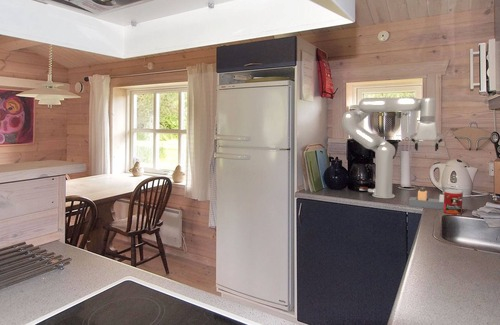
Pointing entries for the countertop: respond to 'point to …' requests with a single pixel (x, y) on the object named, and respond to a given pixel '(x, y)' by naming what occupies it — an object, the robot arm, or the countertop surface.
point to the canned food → (453, 201)
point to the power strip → (427, 202)
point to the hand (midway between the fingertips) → (426, 150)
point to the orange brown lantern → (422, 194)
